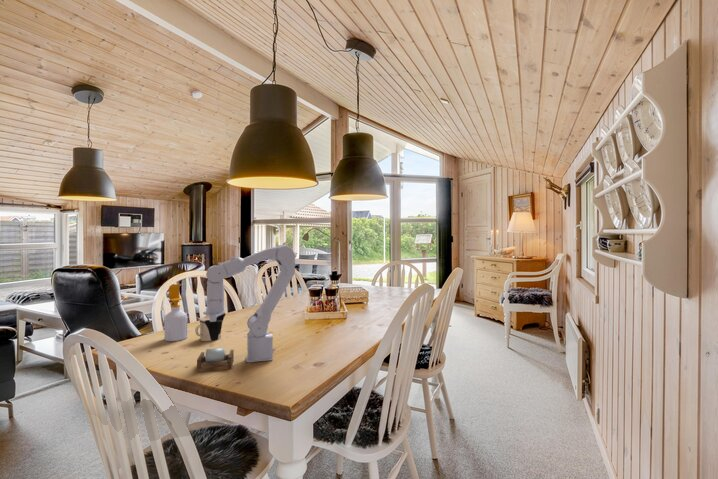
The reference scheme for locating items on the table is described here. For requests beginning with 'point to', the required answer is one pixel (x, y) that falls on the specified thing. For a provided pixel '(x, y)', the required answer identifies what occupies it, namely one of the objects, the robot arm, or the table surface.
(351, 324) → the table surface
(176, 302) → the soap bottle
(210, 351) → the roll
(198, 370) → the holder
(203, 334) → the beige mug
